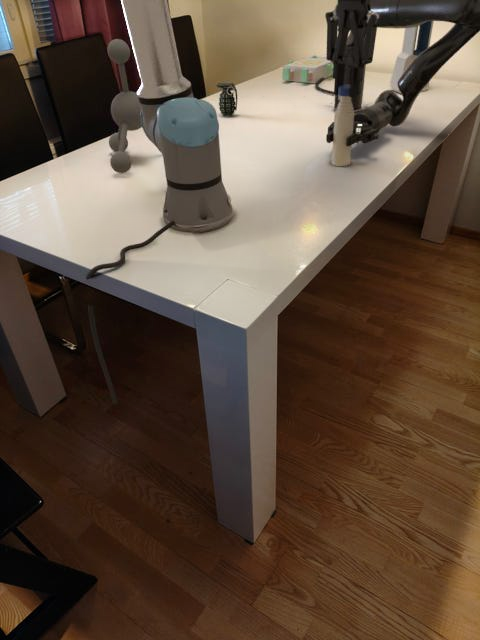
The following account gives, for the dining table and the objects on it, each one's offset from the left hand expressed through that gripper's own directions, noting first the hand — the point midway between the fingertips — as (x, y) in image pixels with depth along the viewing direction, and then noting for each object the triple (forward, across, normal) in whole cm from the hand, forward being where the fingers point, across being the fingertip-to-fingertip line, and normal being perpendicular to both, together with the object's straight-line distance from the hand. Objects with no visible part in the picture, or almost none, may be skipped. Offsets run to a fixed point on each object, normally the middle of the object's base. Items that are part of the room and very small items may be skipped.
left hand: (346, 94), depth 119 cm
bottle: (+17, 0, 0) cm, 17 cm away
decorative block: (+17, -70, +74) cm, 103 cm away
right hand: (+10, 0, -3) cm, 11 cm away
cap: (-1, 0, 0) cm, 1 cm away
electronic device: (+17, -25, +77) cm, 83 cm away
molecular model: (+17, -45, -31) cm, 57 cm away
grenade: (+17, -57, +13) cm, 61 cm away
